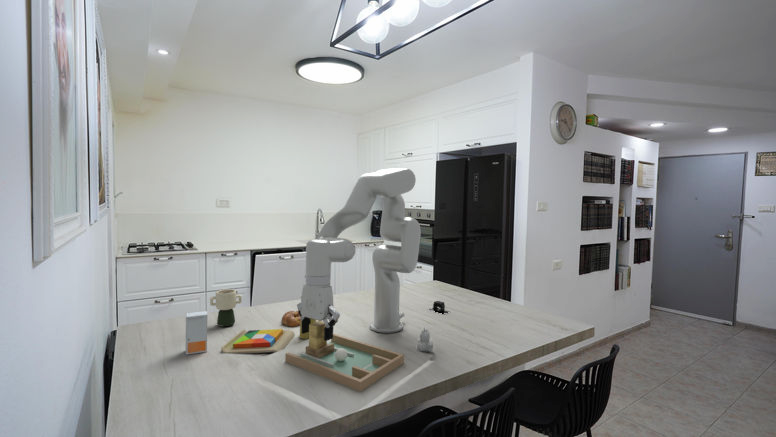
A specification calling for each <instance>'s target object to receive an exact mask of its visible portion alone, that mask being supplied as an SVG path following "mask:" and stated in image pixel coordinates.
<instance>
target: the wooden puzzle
mask: <svg viewBox="0 0 776 437" xmlns="http://www.w3.org/2000/svg"><path fill="white" fill-rule="evenodd" d="M294 337H295V332H294V331H293V330H290V329H286V330H284V329H283V328H277V329H276V328H275V329H273V328H272V329H271V328H270V329H253V330H251V329H250V330H248V331H247V330H244V329H242V330H240V331H239V333H236V334H235V335H234V336H233V337H232V338H231V339H230V340H228V341H227V342H225V344H223V345H222V347H221V352H222V354H237V355H238V354H241V355H243V354H244V355H245V354H258V353H260V354H261V353H263V354H264V353H277V352H280V351H282V350H283V351H284V350H285V349H286V347H287V346H288V345H289V344H290V342H291V341H292V340H293V338H294Z"/></svg>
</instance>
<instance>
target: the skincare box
mask: <svg viewBox="0 0 776 437" xmlns="http://www.w3.org/2000/svg"><path fill="white" fill-rule="evenodd" d="M207 352H208V310H204V311H203V310H202V311H194V312H188V313H185V355H186V356H188V355H192V354H193V355H194V354H200V353H201V354H202V353H207Z"/></svg>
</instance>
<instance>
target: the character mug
mask: <svg viewBox="0 0 776 437" xmlns="http://www.w3.org/2000/svg"><path fill="white" fill-rule="evenodd" d="M237 298H238V300H237ZM242 298H243V297H242V294H237V290H236V289H232V288H231V289H229V288H227V289H226V288H225V289H220V290H217V291H216V292H215V296H211V297H210V299H209V304H210V306H211V307H216V309H217V310H218V314H217V319H216V320H217V322H216V324H217V325H218V326H220V327H227V326H231V325H234V324H235V322H236V317H235V311H234V309H235V308H236V306H237V304H242V300H243V299H242ZM214 300H215V302H214Z"/></svg>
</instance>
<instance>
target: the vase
mask: <svg viewBox="0 0 776 437" xmlns="http://www.w3.org/2000/svg"><path fill="white" fill-rule="evenodd" d="M310 320H311V324H312V323H315V322H317V320H314V319H311V318H310ZM301 331H302V320H300V325H299V338H300V339H302V340H303V339H304V340H309V332H307V333H304V334H303V333H301Z"/></svg>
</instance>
